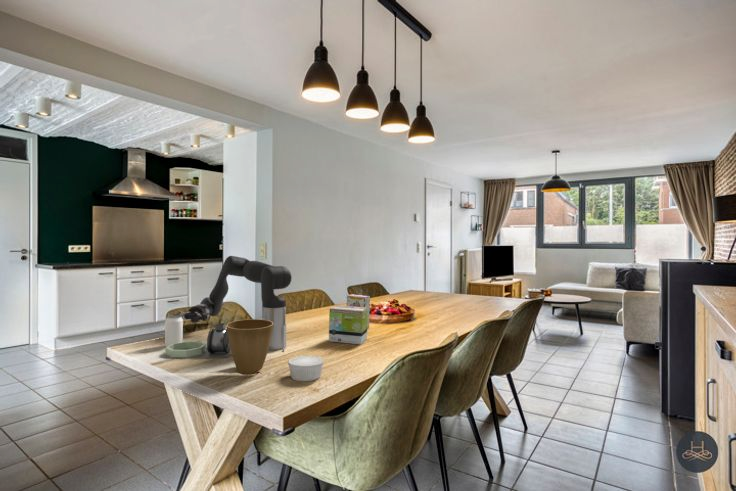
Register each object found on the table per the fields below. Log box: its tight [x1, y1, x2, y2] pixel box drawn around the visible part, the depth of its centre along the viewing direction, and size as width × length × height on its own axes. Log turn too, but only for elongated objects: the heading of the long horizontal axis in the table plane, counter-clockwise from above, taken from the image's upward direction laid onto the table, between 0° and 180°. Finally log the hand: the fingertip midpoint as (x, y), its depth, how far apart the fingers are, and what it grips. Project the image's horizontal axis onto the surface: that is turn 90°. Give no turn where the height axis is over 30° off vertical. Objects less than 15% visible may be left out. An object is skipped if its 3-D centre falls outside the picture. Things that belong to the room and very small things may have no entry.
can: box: [164, 314, 184, 348], centre depth 161 cm, size 6×6×12 cm
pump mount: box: [158, 340, 232, 359], centre depth 149 cm, size 24×14×4 cm, turn 93°
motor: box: [206, 322, 231, 353], centre depth 150 cm, size 7×9×11 cm
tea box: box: [328, 304, 368, 346], centre depth 174 cm, size 15×10×15 cm, turn 76°
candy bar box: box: [346, 293, 371, 330], centre depth 201 cm, size 11×5×16 cm, turn 58°
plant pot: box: [226, 318, 273, 376], centre depth 132 cm, size 15×15×16 cm
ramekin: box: [287, 355, 324, 382], centre depth 128 cm, size 11×11×5 cm
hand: (184, 319), depth 173 cm, fingers open, 8 cm apart
